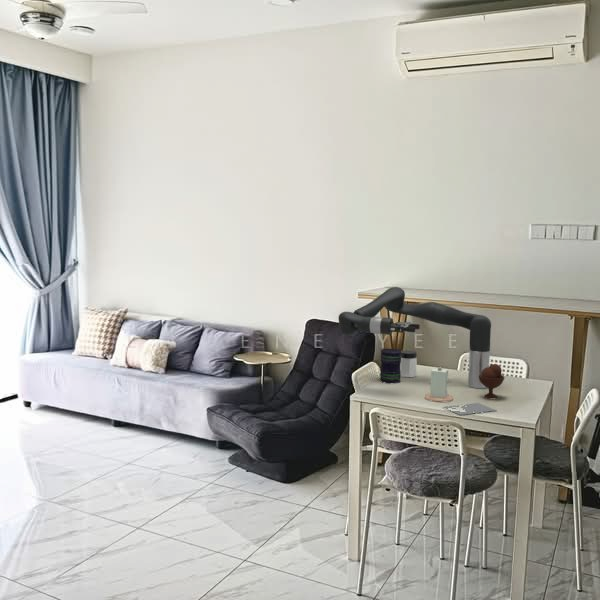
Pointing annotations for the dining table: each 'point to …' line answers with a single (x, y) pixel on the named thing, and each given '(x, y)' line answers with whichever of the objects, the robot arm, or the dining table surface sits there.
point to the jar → (408, 363)
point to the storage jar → (390, 365)
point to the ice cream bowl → (491, 378)
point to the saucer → (447, 398)
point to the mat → (471, 409)
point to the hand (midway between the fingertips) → (417, 328)
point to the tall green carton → (439, 383)
